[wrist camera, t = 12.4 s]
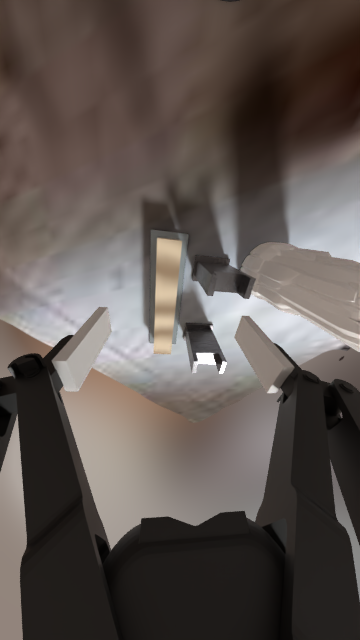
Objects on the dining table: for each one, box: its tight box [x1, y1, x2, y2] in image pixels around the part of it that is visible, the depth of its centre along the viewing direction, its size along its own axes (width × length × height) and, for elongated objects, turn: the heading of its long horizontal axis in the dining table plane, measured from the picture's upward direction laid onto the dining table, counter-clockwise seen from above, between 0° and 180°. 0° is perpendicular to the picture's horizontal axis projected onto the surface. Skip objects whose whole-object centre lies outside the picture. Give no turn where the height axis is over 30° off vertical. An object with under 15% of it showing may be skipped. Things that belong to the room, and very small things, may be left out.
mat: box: [150, 230, 189, 344], centre depth 35 cm, size 26×7×1 cm, turn 174°
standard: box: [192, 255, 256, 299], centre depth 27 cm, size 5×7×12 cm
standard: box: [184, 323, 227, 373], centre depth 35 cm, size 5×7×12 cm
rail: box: [154, 237, 182, 354], centre depth 32 cm, size 24×4×5 cm, turn 174°
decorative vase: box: [240, 242, 360, 352], centre depth 23 cm, size 11×11×25 cm
